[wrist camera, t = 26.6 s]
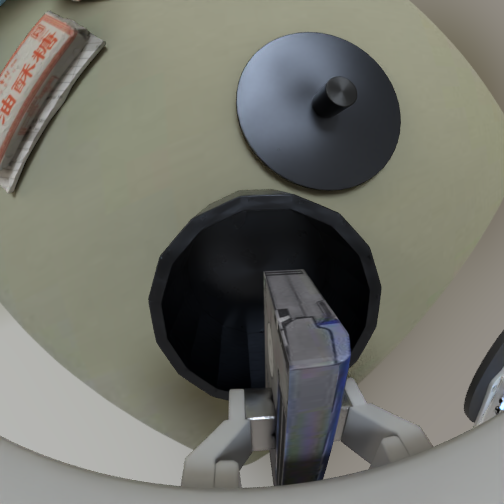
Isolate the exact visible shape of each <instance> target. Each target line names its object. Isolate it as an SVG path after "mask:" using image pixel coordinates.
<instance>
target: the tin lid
mask: <svg viewBox="0 0 504 504" xmlns="http://www.w3.org/2000/svg"><path fill="white" fill-rule="evenodd" d="M236 107H237V116H238V120H239V124H240V127H241V130H242V132H243V135H244V137H245V139H246V141H247V142H248V144H249V146H250V147H251V149H252V150H253V152H254V153H255V154H256V156H257V157H258V158H259V159H260V160H261V161H262V162H263V163H264V164H265V165H266V166H267V167H269V168H270V169H271V170H272V171H273V172H275V173H276V174H278V175H279V176H281V177H283V178H284V179H286V180H288V181H290V182H292V183H295V184H297V185H300V186H303V187H307V188H312V189H317V190H342V189H347V188H351V187H354V186H357V185H360V184H362V183H364V182H366V181H367V180H369V179H371V178H372V177H373V176H375V175H376V174H377V173H378V172H379V171H380V170H381V169H382V168H383V167H384V166H385V165H386V164H387V162H388V161H389V160H390V158H391V156H392V154H393V152H394V150H395V148H396V145H397V143H398V138H399V134H400V125H401V118H400V108H399V103H398V99H397V96H396V93H395V91H394V88H393V86H392V84H391V82H390V80H389V78H388V77H387V75H386V74H385V72H384V71H383V70H382V68H381V67H380V66H379V65H378V64H377V63H376V61H375V60H374V59H373V58H371V57H370V56H369V55H368V54H367V53H366V52H364V51H363V50H362V49H360V48H359V47H357V46H355V45H354V44H352V43H350V42H348V41H346V40H344V39H341V38H339V37H335V36H332V35H329V34H323V33H315V32H303V33H294V34H289V35H286V36H283V37H280V38H277V39H275V40H273V41H271V42H269V43H268V44H266V45H265V46H263V47H262V48H261V49H260V50H258V51H257V52H256V53H255V54H254V55H253V56H252V58H251V59H250V60H249V62H248V63H247V65H246V66H245V68H244V70H243V72H242V74H241V77H240V80H239V83H238V88H237V97H236Z"/></svg>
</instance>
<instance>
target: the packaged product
mask: <svg viewBox="0 0 504 504" xmlns="http://www.w3.org/2000/svg"><path fill="white" fill-rule="evenodd" d="M105 44H106V42H105V41H103V40H102V39H100V38H98V37H97V36H95V35H93V34H91V33H90V32H89V31H88V30H87V29H86V28H84V27H83V26H80V25H78V24H77V23H76V22H75V21H74V20H71V19H68V18H62V17H60V16H59V15H57V14H55V13H53V12H51V11H47V12H46V13H45V14H44V15H43V16H42V17H41V19H40V20H39V21H38V22H37V23H36V24H35V26H34V27H33V28H32V29H31V31H30V32H29V33H28V35H27V36H26V37H25V39H24V40H23V41H22V42H21V44H20V45H19V47H18V48H17V49H16V51H15V53H14V54H13V55H12V57H11V58H10V60H9V61H8V63H7V64H6V66H5V67H4V69H3V70H2V72H1V74H0V185H1V187H2V188H4V189H5V190H6V191H7V193H11V192H14V189H15V186H16V184H17V181H18V178H19V176H20V174H21V171H22V169H23V166H24V164H25V162H26V160H27V158H28V156H29V155H30V153H31V151H32V149H33V147H34V146H35V144H36V142H37V141H38V139H39V137H40V136H41V134H42V132H43V131H44V129H45V127H46V126H47V124H48V123H49V121H50V120H51V118H52V117H53V116H54V114H55V113H56V112H57V111H58V109H59V108H60V107H61V106H62V104H63V103H64V101H65V99H66V97H67V95H68V93H69V91H70V89H71V87H72V86H73V84H74V83H75V81H76V80H77V78H78V77H79V76H80V74H81V73H82V72H83V70H84V69H85V68H86V67H87V65H88V64H89V63H90V62H91V61H92V59H93V58H94V57H95V56H96V55H97V54H98V52H99V51H100V50H101V49H102V48H103V47H104V46H105Z"/></svg>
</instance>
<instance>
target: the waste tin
mask: <svg viewBox="0 0 504 504" xmlns="http://www.w3.org/2000/svg"><path fill="white" fill-rule="evenodd" d="M300 269H304V270H305V272H306V273H307V275H308V276H309V278H310V279H311V280H312V282H313V283H314V285H315V286H316V288H317V289H318V290H319V292H320V293H321V295H322V296H323V298H324V299H325V300H326V302H327V303H328V305H329V306H330V308H331V309H332V311H333V312H334V314H335V315H336V316H337V318H338V319H339V321H340V322H341V324H342V325H343V327H344V328H345V330H346V331H347V333H348V334H349V340H350V349H351V357H350V364H349V368H350V367H351V366H352V365H353V364H354V363H355V362H356V361H357V360H358V358H359V357H360V355H361V353H362V352H363V350H364V348H365V346H366V345H367V343H368V341H369V339H370V338H371V336H372V334H373V332H374V330H375V328H376V325H377V318H378V312H379V304H380V296H381V284H380V280H379V276H378V273H377V269H376V266H375V263H374V259H373V256H372V253H371V250H370V247H369V246H368V244H367V243H366V242H365V241H364V240H363V239H362V238H361V236H360V235H359V234H358V233H357V232H356V231H355V230H354V229H353V228H352V226H351V225H350V224H349V223H348V222H347V221H346V220H345V219H344V218H343V217H342V216H341V214H339V213H338V212H335V211H333V210H331V209H328V208H326V207H324V206H321V205H319V204H317V203H314V202H312V201H309V200H307V199H304V198H302V197H299V196H297V195H295V194H290V193H286V192H282V191H277V190H273V189H267V190H240V191H237V192H235V193H233V194H231V195H228V196H226V197H224V198H222V199H220V200H218V201H216V202H214V203H211V204H209V205H208V206H207V207H206V208H204V209H203V210H202V211H201V212H199V213H198V214H197V215H196V216H195V217H193V218H192V219H191V220H190V221H189V222H188V223H187V225H186V226H185V227H184V228H183V229H182V230H181V232H180V233H179V234H178V235H177V236H176V237H175V239H174V240H173V241H172V242H171V243H170V245H169V246H168V247H167V248H166V249H165V251H164V252H163V253H162V254H161V255H160V257H159V261H158V264H157V268H156V272H155V275H154V279H153V283H152V287H151V291H150V295H149V299H148V300H149V307H150V313H151V318H152V323H153V329H154V334H155V339H156V342H157V344H158V345H159V347H160V348H161V350H162V351H163V353H164V354H165V356H166V357H167V359H168V360H169V361H170V363H171V364H172V366H173V367H174V368H175V370H176V371H177V373H178V374H179V375H181V376H182V377H183V378H185V379H186V380H188V381H189V382H191V383H192V384H194V385H195V386H197V387H198V388H200V389H201V390H203V391H204V392H206V393H208V394H209V395H211V396H213V397H216V398H220V399H224V400H228V401H229V391H230V389H244V388H266V386H265V323H264V276H263V272H264V271H281V270H300Z"/></svg>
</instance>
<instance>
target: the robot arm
mask: <svg viewBox="0 0 504 504" xmlns="http://www.w3.org/2000/svg"><path fill="white" fill-rule="evenodd" d="M276 423H277V416H276V410H275V404H274V402H273V392H272V388H244V389H230V391H229V419H228V420H224V421H223V422H222V423H221V424H220V425H219V426H218V427H217V428H216V429H215V430H214V431H213V432H212V433H211V434H210V435H209V436H208V437H207V438H206V439H205V440H204V441H203V442H202V443H201V444H200V445H199V446H198V447H197V448H196V449H194V450H193V451H192V452H191V453H190V454H189V455H188V456H187V457H186V458H185V462H184V469H183V476H182V482H181V486H172V485H163V484H155V483H148V482H142V481H136V480H130V479H125V478H120V477H115V476H111V475H106V474H102V473H98V472H94V471H91V470H87V469H83V468H80V467H76V466H73V465H70V464H67V463H64V462H61V461H58V460H55V459H52V458H50V457H47V456H44V455H42V454H39V453H36V452H34V451H32V450H29V449H27V448H25V447H22V446H20V445H18V444H16V443H14V442H11V441H9V440H8V439H6V438H4V437H2V436H0V504H504V367H503V368H502V370H501V371H500V372H499V373H498V374H497V375H496V376H495V377H494V378H493V379H492V380H491V382H490V384H489V386H488V389H487V392H486V395H485V398H484V400H483V403H482V406H481V408H480V411H479V413H478V416H477V418H476V421H475V423H474V426H473V428H472V429H471V430H469V431H467V432H465V433H463V434H461V435H459V436H457V437H455V438H452V439H451V440H448V441H446V442H444V443H442V444H439V445H437V446H435V447H433V445H432V444H431V442H430V441H429V439H428V438H427V436H426V435H425V433H424V432H423V430H422V429H421V427H420V426H418V425H416V424H414V423H412V422H410V421H407V420H405V419H403V418H401V417H399V416H397V415H395V414H393V413H391V412H389V411H387V410H384V409H382V408H380V407H378V406H376V405H374V404H372V403H369V404H368V403H367V402H366V400H365V398H364V396H363V394H362V393H361V391H360V389H359V387H358V386H357V384H356V382H355V380H354V378H352V377H349V378H347V381H346V386H345V392H344V397H343V402H342V406H341V411H340V416H339V420H338V425H337V429H336V433H335V437H334V441H340V440H341V442H343V443H344V444H345V445H346V446H348V447H349V448H350V449H351V450H353V451H354V452H355V453H357V454H358V455H359V456H361V457H362V458H363V459H365V460H366V461H367V462H369V463H370V464H371V466H370V468H369V469H368V470H364V471H361V472H357V473H353V474H349V475H344V476H339V477H334V478H330V479H324V480H318V481H312V482H306V483H298V484H290V485H281V486H271V487H257V488H256V487H255V488H242V487H241V480H240V472H239V471H240V469H241V468H242V466H243V465H244V463H245V462H246V461H247V459H248V458H249V456H250V455H251V453H252V451H261V450H271V449H276V434H275V431H276ZM334 441H333V442H334Z"/></svg>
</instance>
